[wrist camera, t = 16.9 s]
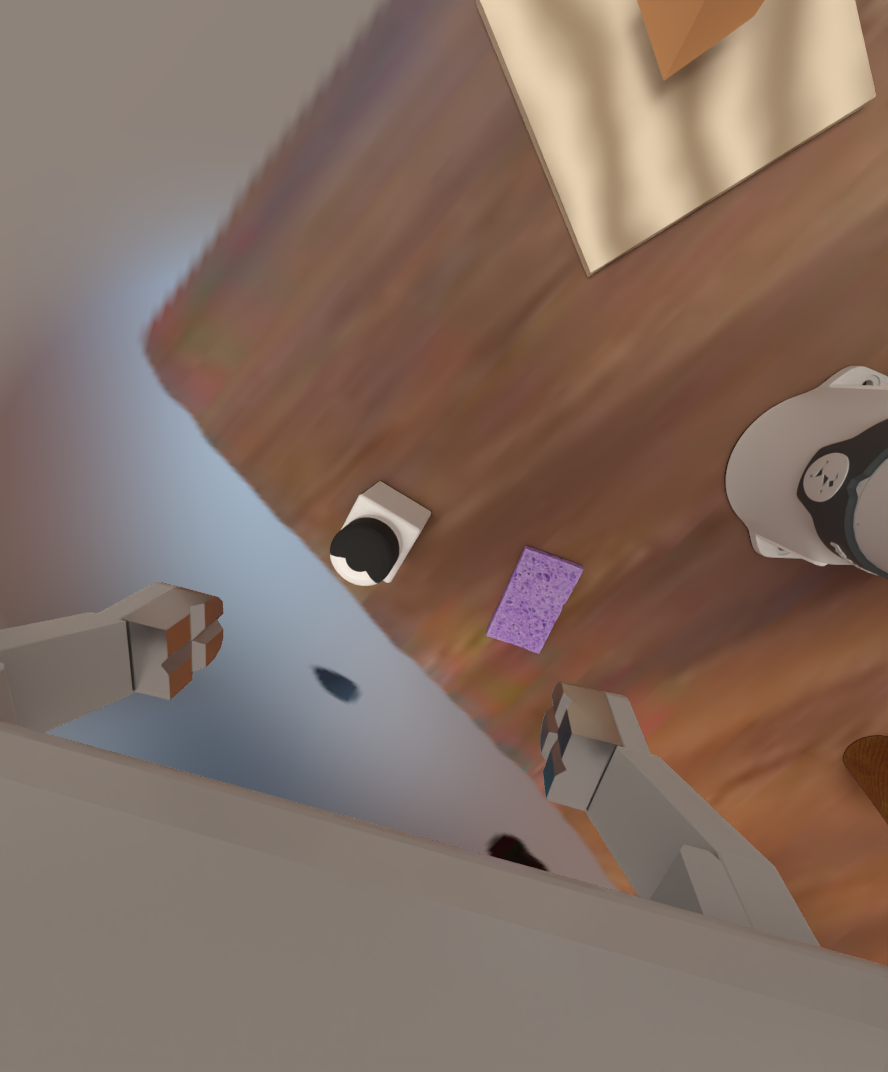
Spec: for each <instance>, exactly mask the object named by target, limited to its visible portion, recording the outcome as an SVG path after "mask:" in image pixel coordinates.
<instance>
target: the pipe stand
mask: <svg viewBox="0 0 888 1072" xmlns="http://www.w3.org/2000/svg"><path fill="white" fill-rule="evenodd" d="M476 6H477V8H478V11H479V13H480V16H481V18H482V20H483V23H484V25H485V28H486V30H487V33H488V35H489V38H490V40H491V42H492V45H493V47H494V50H495V52H496V55H497V57H498V60H499V62H500V64H501V67H502V69H503V72H504V74H505V77H506V79H507V82H508V84H509V86H510V89H511V91H512V94H513V96H514V99H515V101H516V104H517V106H518V108H519V111H520V113H521V116H522V118H523V121H524V123H525V126H526V128H527V130H528V133H529V135H530V138H531V140H532V143H533V145H534V148H535V150H536V152H537V155H538V157H539V160H540V162H541V165H542V167H543V170H544V172H545V175H546V177H547V179H548V182H549V184H550V187H551V189H552V192H553V194H554V197H555V199H556V201H557V204H558V206H559V209H560V211H561V214H562V216H563V219H564V221H565V223H566V226H567V228H568V231H569V233H570V236H571V238H572V241H573V243H574V245H575V248H576V250H577V253H578V255H579V258H580V260H581V263H582V265H583V267H584V270H585V272H586V275H587V277H589V276H591V275H592V274H594V273H595V272H597V271H599V270H600V269H602V268H604V267H605V266H607V265H608V264H610V263H612V262H613V261H615V260H617V259H618V258H620V257H621V256H623V255H625V254H626V253H628V252H629V251H631V250H633V249H634V248H636V247H638V246H639V245H641V244H642V243H644V242H646V241H647V240H649V239H651V238H652V237H654V236H655V235H657V234H659V233H660V232H662V231H663V230H665V229H667V228H668V227H670V226H672V225H673V224H675V223H676V222H678V221H680V220H681V219H683V218H685V217H686V216H688V215H689V214H691V213H693V212H694V211H696V210H697V209H699V208H701V207H702V206H704V205H706V204H707V203H709V202H710V201H712V200H714V199H715V198H717V197H719V196H720V195H722V194H723V193H725V192H727V191H728V190H730V189H731V188H733V187H735V186H736V185H738V184H740V183H741V182H743V181H744V180H746V179H748V178H749V177H751V176H753V175H754V174H756V173H757V172H759V171H761V170H762V169H764V168H765V167H767V166H769V165H770V164H772V163H774V162H775V161H777V160H778V159H780V158H782V157H783V156H785V155H787V154H788V153H790V152H791V151H793V150H795V149H796V148H798V147H799V146H801V145H803V144H804V143H806V142H808V141H809V140H811V139H812V138H814V137H816V136H817V135H819V134H821V133H822V132H824V131H825V130H827V129H829V128H830V127H832V126H833V125H835V124H837V123H838V122H840V121H842V120H843V119H845V118H846V117H848V116H850V115H851V114H853V113H855V112H856V111H858V110H859V109H861V108H862V107H863V106H865V105H866V104H867V103H868V102H870V101H871V100H872V99H873V98H875V97H876V92H875V88H874V84H873V79H872V75H871V70H870V66H869V61H868V57H867V52H866V48H865V43H864V39H863V35H862V30H861V26H860V21H859V17H858V12H857V8H856V3H855V0H765V1H764V2H763V4H762V5H761V7H760V8H759V10H758V11H757V13H756V14H755V16H754V17H753V18H751V19H750V20H748V21H747V22H746V23H744V24H743V25H741V26H740V27H739V28H737V29H736V30H734V31H733V32H732V33H730V34H729V35H727V36H726V37H725V38H723V39H722V40H720V41H719V42H718V43H716V44H715V45H713V46H712V47H711V48H709V49H708V50H706V51H705V52H704V53H702V54H701V55H699V56H698V57H697V58H695V59H694V60H692V61H691V62H690V63H688V64H687V65H685V66H684V67H683V68H681V69H680V70H679V71H677V72H676V73H674V74H673V75H672V76H670V77H669V78H667V79H666V80H665V81H663V78H662V75H661V72H660V69H659V66H658V63H657V60H656V56H655V53H654V50H653V47H652V44H651V41H650V38H649V35H648V32H647V29H646V26H645V23H644V20H643V17H642V14H641V11H640V8H639V5H638V2H637V0H476Z"/></svg>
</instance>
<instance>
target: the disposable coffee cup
mask: <svg viewBox="0 0 888 1072" xmlns="http://www.w3.org/2000/svg"><path fill="white" fill-rule="evenodd" d="M843 759H844V764H845V766H846V767H847V768H848V770H849V771H850V772H851V774H852V775H853V777H854V778H855V779H856V781H857V782H858V784H859V785H860V786H861V788H862V789H863V791H864V792H865V793H866V795H867V796H868V798H869V799H870V800H871V802H872V803H873V804H874V806H875V807H876V808H877V810H878V811H879V813H880V814H881V815H882V817H883V818H884V820H885V821H886V822H887V824H888V737H885V736H871V737H866V738H863V739H860V740H858V741H856V742H855V743H853V744H852V745H851V746H849V748H848V749H847V750H846V752H845V754H844V757H843Z"/></svg>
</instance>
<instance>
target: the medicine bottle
mask: <svg viewBox="0 0 888 1072" xmlns="http://www.w3.org/2000/svg"><path fill="white" fill-rule="evenodd" d="M430 516H431V512H430V511H429V510H428V509H426V508H424V507H423V506H421V505H419V504H418V503H416V502H414V501H413V500H411V499H409V498H408V497H406V496H404V495H403V494H401V493H399V492H398V491H396V490H395V489H393V488H391V487H390V486H388V485H386V484H385V483H383V482H381V481H378V482H377V483H375V484H374V485H373V486H371V487H370V488H369V489H367V490H366V491H364V492H363V493H362V494H360V495H359V496H358V498H357V500H356V502H355V504H354V506H353V508H352V510H351V512H350V514H349V515H348V517H347V519H346V521H345V523H344V525H343V527H342V529H341V530H340V531H339V532H338V533H337V534H336V535H335V537H334V538H333V540H332V543H331V547H330V557H331V561H332V564H333V566H334V568H335V569H336V571H337V572H338V573H339V574H340V575H341V576H342V577H343V578H344V579H346V580H347V581H349V582H351V583H353V584H356V585H361V586H370V585H374V584H377V583H379V582H381V581H382V580H383V581H385V582H387V583H389V582H391V581H392V579H393V577H394V576H395V574H396V572H397V571H398V569H399V567H400V566H401V564H402V563H403V561H404V559H405V558H406V556H407V554H408V553H409V551H410V549H411V548H412V546H413V544H414V543H415V541H416V539H417V538H418V536H419V534H420V533H421V531H422V529H423V528H424V526H425V524H426V523H427V521H428V519H429V517H430Z"/></svg>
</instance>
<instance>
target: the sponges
mask: <svg viewBox="0 0 888 1072" xmlns="http://www.w3.org/2000/svg"><path fill="white" fill-rule="evenodd" d="M582 572H583V568H582V566H581V565H579V564H576V563H574V562H571V561H568V560H565V559H562V558H559V557H557V556H554V555H551V554H548V553H546V552H543V551H540V550H537V549H535V548H531V547H529V546H525V547H524V549H523V552H522V554H521V556H520V558H519V561H518V563H517V565H516V567H515V569H514V572H513V574H512V576H511V578H510V581H509V582H508V585H507V587H506V589H505V591H504V593H503V595H502V597H501V600H500V602H499V604H498V607H497V608H496V611H495V612H494V616H493V617H492V619H491V621H490V623H489V625H488V630H487V631H486V636H489V637H492V638H495V639H498V640H501V641H504V642H507V643H512V644H514V645H517V646H519V647H523V648H526V649H527V650H530V651H532V652H536V653H538V654H539V653H540V650H541V649H542V647H543V645H544V643H545V641H546V639H547V637H548V636H549V633H550V631H551V629H552V627H553V625H554V623H555V621H556V620H557V618H558V616H559V614H560V612H561V610H562V606H563V604H565V603H566V601H567V599H568V598H569V596H570V594H571V592H572V591H573V588H574V587H575V585H576V583H577V582H578V579H579V577H580V576H581V574H582Z"/></svg>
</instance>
